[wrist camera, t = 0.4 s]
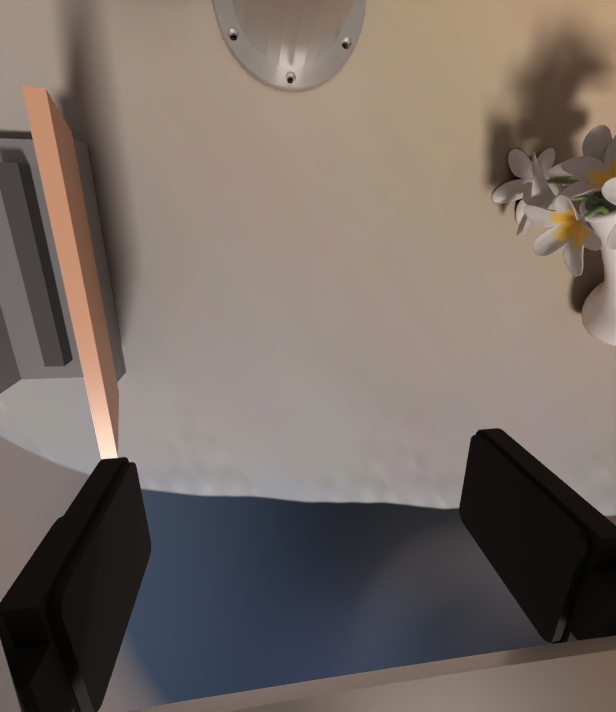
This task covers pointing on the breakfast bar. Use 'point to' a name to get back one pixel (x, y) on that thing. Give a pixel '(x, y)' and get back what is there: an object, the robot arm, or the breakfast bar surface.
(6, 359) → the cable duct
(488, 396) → the breakfast bar surface
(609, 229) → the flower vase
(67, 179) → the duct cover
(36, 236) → the grey plastic bar
